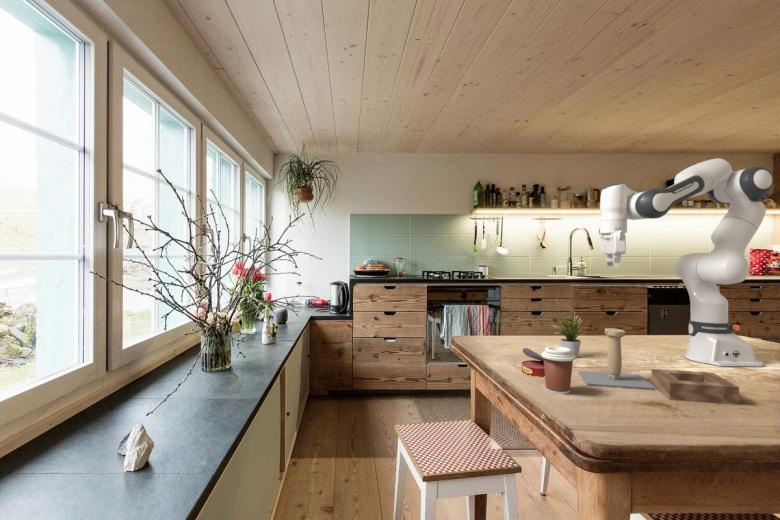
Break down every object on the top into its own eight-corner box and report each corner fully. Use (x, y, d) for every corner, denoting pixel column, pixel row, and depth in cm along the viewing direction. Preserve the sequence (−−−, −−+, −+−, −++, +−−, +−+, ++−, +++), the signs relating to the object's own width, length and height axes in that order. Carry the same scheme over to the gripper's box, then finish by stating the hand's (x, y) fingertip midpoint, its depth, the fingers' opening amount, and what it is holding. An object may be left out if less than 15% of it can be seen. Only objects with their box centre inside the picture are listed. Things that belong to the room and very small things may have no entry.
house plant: (556, 349, 176) (556, 309, 175) (593, 354, 167) (593, 312, 167) (545, 356, 164) (546, 313, 164) (585, 362, 156) (585, 316, 156)
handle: (616, 375, 137) (616, 328, 137) (628, 381, 131) (628, 331, 130) (601, 375, 137) (601, 328, 136) (612, 382, 130) (612, 332, 130)
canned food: (522, 383, 146) (518, 354, 151) (553, 382, 144) (548, 352, 149) (524, 376, 137) (519, 345, 141) (557, 374, 135) (552, 343, 139)
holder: (712, 388, 126) (713, 372, 126) (738, 404, 113) (739, 387, 113) (651, 384, 130) (651, 369, 130) (669, 399, 117) (669, 382, 117)
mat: (639, 376, 138) (639, 374, 138) (654, 390, 125) (654, 387, 125) (578, 372, 143) (578, 370, 143) (586, 385, 129) (586, 383, 129)
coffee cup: (557, 397, 118) (557, 353, 118) (534, 388, 127) (534, 346, 127) (582, 393, 122) (582, 350, 122) (557, 384, 130) (558, 344, 130)
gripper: (631, 226, 148) (630, 267, 148) (615, 229, 167) (615, 265, 168) (611, 227, 149) (610, 267, 149) (597, 230, 169) (597, 265, 169)
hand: (612, 266), depth 159 cm, fingers open, 8 cm apart
